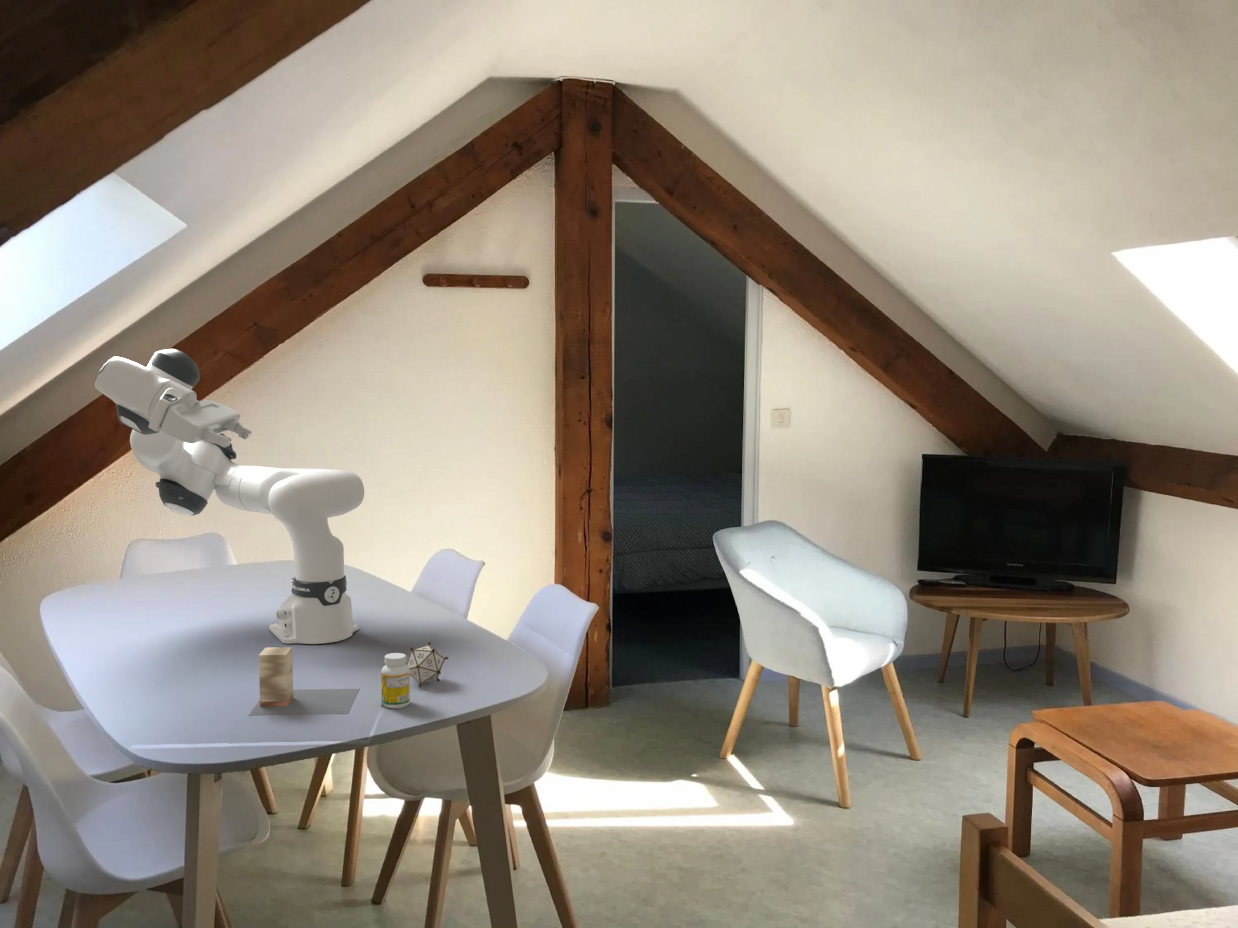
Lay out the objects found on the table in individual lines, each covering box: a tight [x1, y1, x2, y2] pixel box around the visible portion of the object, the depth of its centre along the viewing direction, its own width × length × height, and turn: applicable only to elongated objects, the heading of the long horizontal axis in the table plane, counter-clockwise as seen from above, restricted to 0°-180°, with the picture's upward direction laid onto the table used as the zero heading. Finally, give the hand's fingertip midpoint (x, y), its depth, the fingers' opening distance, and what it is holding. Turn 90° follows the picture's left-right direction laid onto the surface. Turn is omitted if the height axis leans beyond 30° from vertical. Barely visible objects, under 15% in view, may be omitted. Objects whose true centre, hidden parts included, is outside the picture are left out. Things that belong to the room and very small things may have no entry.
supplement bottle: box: [380, 652, 411, 709], centre depth 200 cm, size 5×5×10 cm
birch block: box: [258, 646, 294, 707], centre depth 199 cm, size 5×5×10 cm
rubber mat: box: [248, 688, 361, 717], centre depth 200 cm, size 18×14×1 cm
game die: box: [406, 641, 449, 689], centre depth 213 cm, size 9×8×10 cm
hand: (239, 439), depth 206 cm, fingers open, 8 cm apart
